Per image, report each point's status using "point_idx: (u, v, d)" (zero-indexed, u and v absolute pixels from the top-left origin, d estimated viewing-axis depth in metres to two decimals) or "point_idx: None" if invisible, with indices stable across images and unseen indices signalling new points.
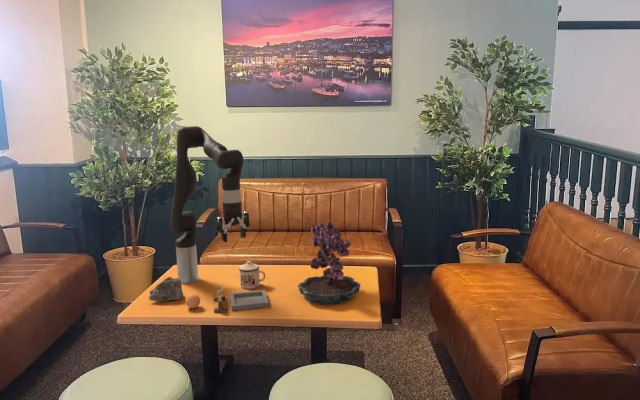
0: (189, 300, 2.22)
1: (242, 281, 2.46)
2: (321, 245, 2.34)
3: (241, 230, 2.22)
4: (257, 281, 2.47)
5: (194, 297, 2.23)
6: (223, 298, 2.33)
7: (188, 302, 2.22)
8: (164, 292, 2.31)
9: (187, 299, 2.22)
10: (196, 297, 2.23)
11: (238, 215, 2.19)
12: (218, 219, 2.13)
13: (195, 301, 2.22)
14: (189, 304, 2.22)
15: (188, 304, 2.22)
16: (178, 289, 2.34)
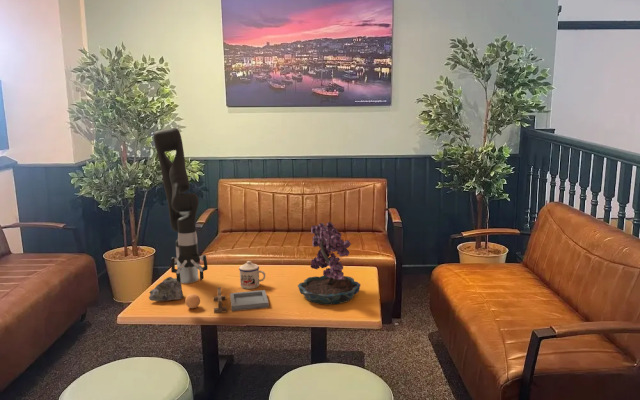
0: (189, 300, 2.22)
1: (242, 281, 2.46)
2: (321, 245, 2.34)
3: (179, 274, 2.21)
4: (257, 281, 2.47)
5: (194, 297, 2.23)
6: (223, 298, 2.33)
7: (188, 302, 2.22)
8: (164, 292, 2.31)
9: (187, 299, 2.22)
10: (196, 297, 2.23)
11: None
12: None
13: (195, 301, 2.22)
14: (189, 304, 2.22)
15: (188, 304, 2.22)
16: (178, 289, 2.34)
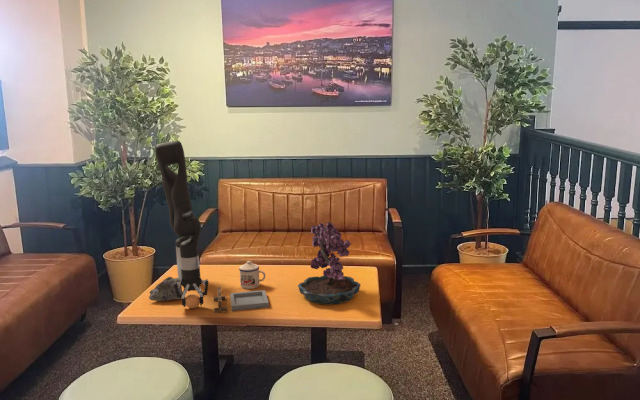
0: (189, 300, 2.22)
1: (242, 281, 2.46)
2: (321, 245, 2.34)
3: None
4: (257, 281, 2.47)
5: (194, 297, 2.23)
6: (223, 298, 2.33)
7: (188, 302, 2.22)
8: (164, 292, 2.31)
9: (187, 299, 2.22)
10: (196, 297, 2.23)
11: None
12: None
13: (195, 301, 2.22)
14: (189, 304, 2.22)
15: (188, 304, 2.22)
16: None
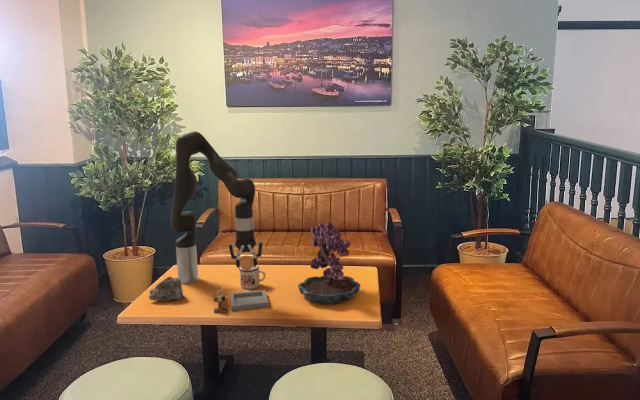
0: (244, 262, 2.23)
1: (242, 281, 2.46)
2: (321, 245, 2.34)
3: None
4: (257, 281, 2.47)
5: (248, 258, 2.24)
6: (223, 298, 2.33)
7: (242, 263, 2.23)
8: (164, 291, 2.31)
9: (241, 260, 2.24)
10: (250, 259, 2.25)
11: None
12: None
13: (250, 262, 2.24)
14: (243, 266, 2.23)
15: (242, 265, 2.23)
16: (177, 288, 2.34)
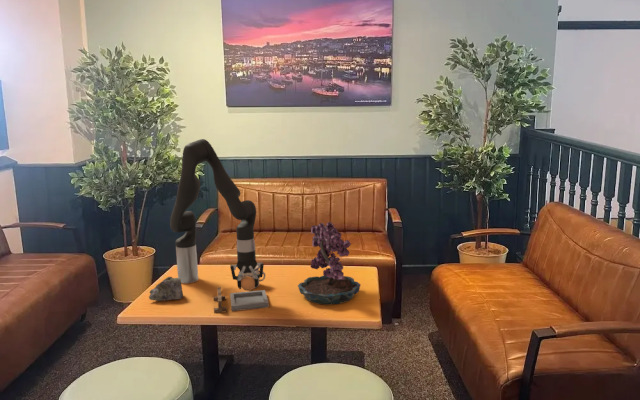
0: (245, 283, 2.25)
1: None
2: (321, 245, 2.34)
3: (240, 281, 2.27)
4: None
5: (250, 279, 2.26)
6: (223, 298, 2.33)
7: (244, 284, 2.25)
8: (164, 291, 2.31)
9: (243, 281, 2.25)
10: (251, 279, 2.26)
11: None
12: (263, 264, 2.28)
13: (251, 283, 2.25)
14: (244, 286, 2.25)
15: (244, 286, 2.25)
16: (177, 288, 2.34)
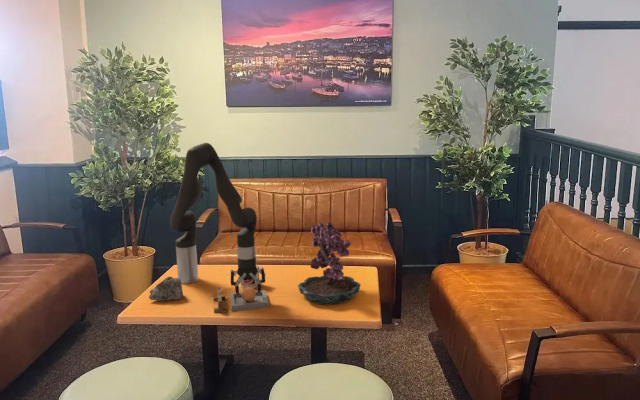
0: (246, 294, 2.26)
1: (242, 281, 2.46)
2: (321, 245, 2.34)
3: (238, 287, 2.27)
4: None
5: (250, 290, 2.27)
6: (223, 298, 2.33)
7: (245, 295, 2.26)
8: (164, 291, 2.32)
9: (244, 292, 2.27)
10: (252, 290, 2.27)
11: None
12: (263, 269, 2.28)
13: (252, 294, 2.26)
14: (245, 298, 2.26)
15: (245, 297, 2.26)
16: (177, 288, 2.34)
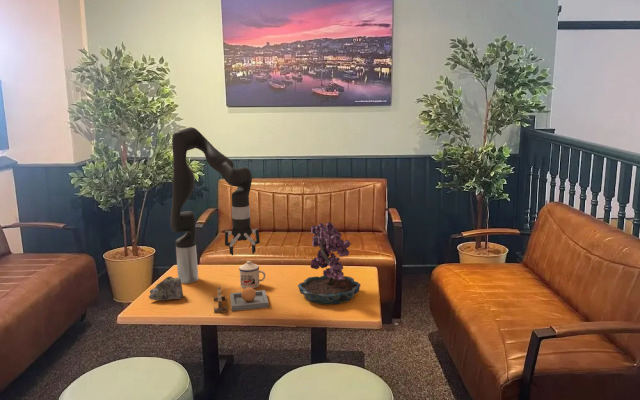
0: (246, 294, 2.26)
1: (242, 281, 2.46)
2: (321, 245, 2.34)
3: (232, 247, 2.26)
4: (257, 281, 2.47)
5: (250, 290, 2.27)
6: (223, 298, 2.33)
7: (245, 295, 2.26)
8: (164, 291, 2.32)
9: (244, 292, 2.27)
10: (252, 290, 2.27)
11: None
12: None
13: (252, 294, 2.26)
14: (245, 298, 2.26)
15: (245, 297, 2.26)
16: (177, 288, 2.35)
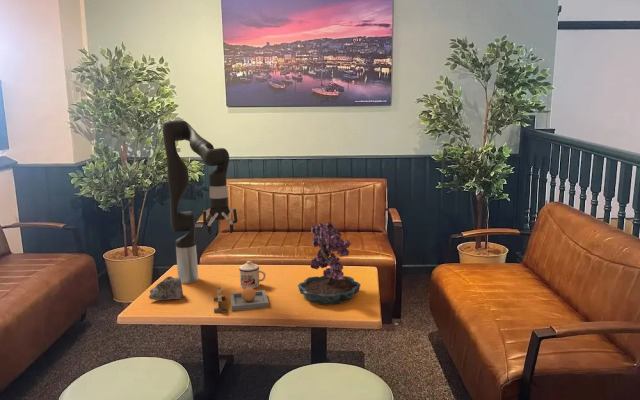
0: (246, 294, 2.26)
1: (242, 281, 2.46)
2: (321, 245, 2.34)
3: None
4: (257, 281, 2.47)
5: (251, 290, 2.27)
6: (223, 298, 2.33)
7: (245, 295, 2.26)
8: (164, 291, 2.32)
9: (244, 292, 2.27)
10: (252, 291, 2.27)
11: None
12: (235, 210, 2.32)
13: (252, 295, 2.26)
14: (245, 298, 2.26)
15: (245, 297, 2.26)
16: (177, 288, 2.35)
